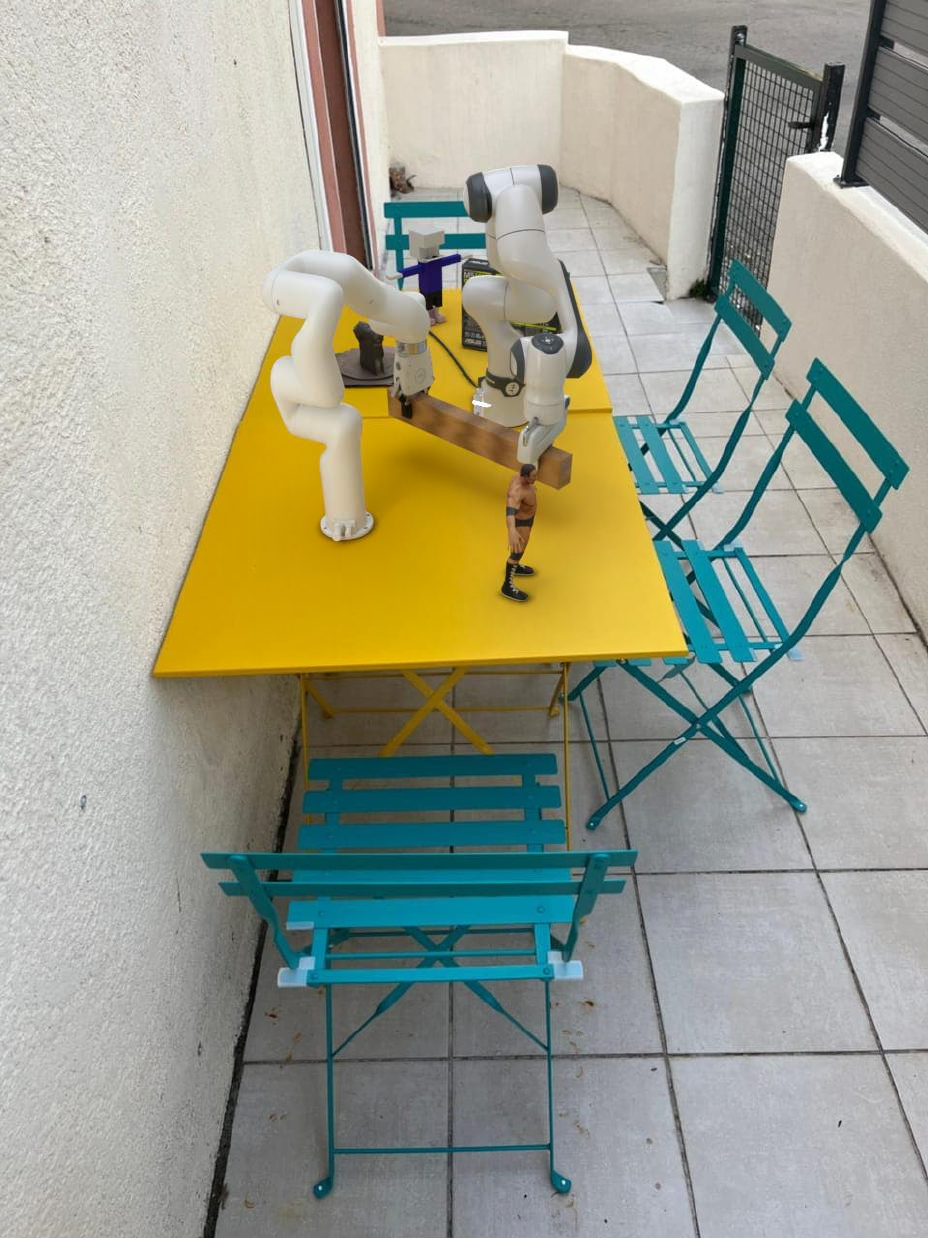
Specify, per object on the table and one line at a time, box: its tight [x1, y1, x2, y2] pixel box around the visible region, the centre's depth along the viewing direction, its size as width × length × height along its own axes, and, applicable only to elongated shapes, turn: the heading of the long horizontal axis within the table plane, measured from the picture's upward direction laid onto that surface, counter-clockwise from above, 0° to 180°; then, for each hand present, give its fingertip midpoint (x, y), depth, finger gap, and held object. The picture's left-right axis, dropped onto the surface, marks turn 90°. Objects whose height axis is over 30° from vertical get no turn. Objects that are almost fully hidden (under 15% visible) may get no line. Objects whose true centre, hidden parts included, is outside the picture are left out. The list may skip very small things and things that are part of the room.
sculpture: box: [334, 320, 396, 387], centre depth 273 cm, size 33×35×16 cm
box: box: [460, 257, 571, 352], centre depth 279 cm, size 34×7×27 cm, turn 68°
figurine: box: [500, 464, 538, 602], centre depth 184 cm, size 24×6×30 cm, turn 168°
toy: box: [384, 223, 474, 327], centre depth 298 cm, size 35×10×30 cm, turn 130°
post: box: [386, 385, 573, 491], centre depth 216 cm, size 56×5×8 cm, turn 48°
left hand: (414, 412), depth 228 cm, fingers closed on post, 4 cm apart
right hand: (540, 463), depth 206 cm, fingers closed on post, 5 cm apart
